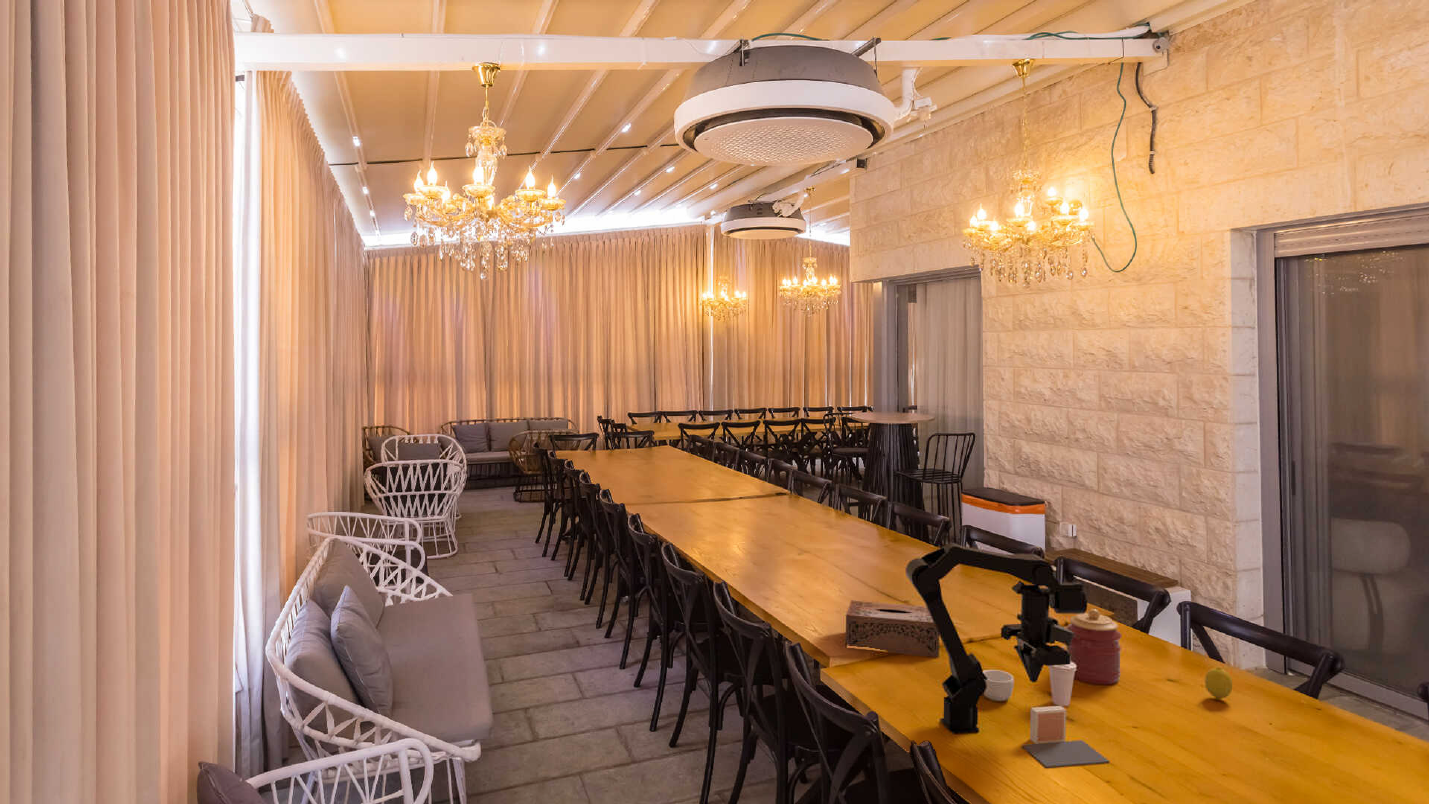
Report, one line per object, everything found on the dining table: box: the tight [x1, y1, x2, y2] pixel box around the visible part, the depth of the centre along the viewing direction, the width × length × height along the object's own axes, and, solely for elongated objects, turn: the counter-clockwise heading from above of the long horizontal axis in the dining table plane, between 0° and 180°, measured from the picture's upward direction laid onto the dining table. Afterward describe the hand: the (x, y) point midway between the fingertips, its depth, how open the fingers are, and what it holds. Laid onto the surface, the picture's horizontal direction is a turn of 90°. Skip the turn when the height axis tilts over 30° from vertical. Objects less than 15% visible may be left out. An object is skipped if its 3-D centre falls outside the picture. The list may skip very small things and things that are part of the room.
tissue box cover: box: [845, 599, 940, 658], centre depth 226 cm, size 26×14×10 cm, turn 74°
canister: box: [1065, 608, 1122, 685], centre depth 203 cm, size 13×13×18 cm
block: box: [1029, 705, 1067, 744], centre depth 167 cm, size 7×2×7 cm, turn 99°
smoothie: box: [1047, 645, 1076, 707], centre depth 186 cm, size 6×6×14 cm
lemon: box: [1204, 666, 1233, 700], centre depth 188 cm, size 6×6×8 cm
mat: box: [1021, 739, 1110, 769], centre depth 162 cm, size 14×9×1 cm, turn 99°
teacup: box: [982, 669, 1015, 702], centre depth 190 cm, size 10×8×5 cm
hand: (1033, 681), depth 173 cm, fingers closed
